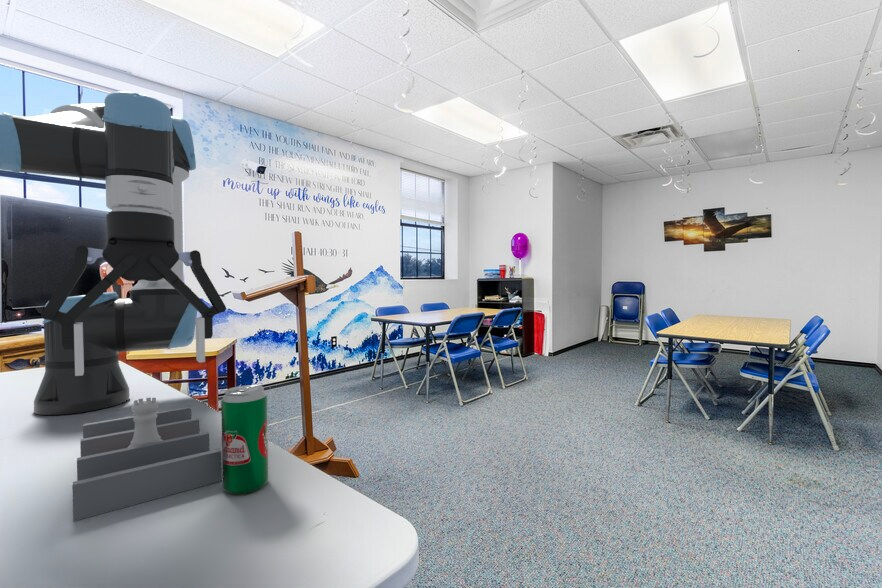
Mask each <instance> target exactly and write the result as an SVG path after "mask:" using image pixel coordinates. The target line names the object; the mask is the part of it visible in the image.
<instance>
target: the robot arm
mask: <svg viewBox="0 0 882 588" xmlns="http://www.w3.org/2000/svg"><path fill="white" fill-rule="evenodd" d="M196 168H197V161H196V154H195V145H194V139H193V134H192V129H191V126H190V124H189V122H188V121H187V120H186V119H184V118H183V117H178V116H174V115H172V111H171V109H170V108H169V106H168V105H167V104H165V103H164V102H162V101H161V100H159V99H158V98H154V97H151V96H149V95H146V94H143V93H137V92H131V91H114V92H111V93H109V94H107V95H106V96H105V98H104V103H98V102H96V103H75V104H67V105H60V106H58V107H56V108H54V109H52V110H51V111H50V112H49V113H45V114H38V115H31V116H23V115H22V116H21V115H14V114H11V113H8V112H2V113H1V112H0V171H1V170H2V171H8V172H12V173H15V174H16V173H17V174H19V173H25V174H26V173H29V174H36V175H37V174H38V175H49V176H61V177H67V178H68V177H69V178H79V179H86V180H94V181H105V207H106V208H107V209H109V210H110V211H109V212H108V213H107V214H106V218H105V219H106V220H105V221H106V245H105V248H104V249H100V248H93V247H87V246H86V245H78V246H77V247H76V248H75V252H74V260H73V264H72V265H71V266H70V268H69V269H68V272H67V273H66V275H65V276H64V277H63V279H62V280H61V282H60V284H59V285H58V286H57V288H56V290H55V291H54V293H53V294H52V296H51V298H50V299H49V300H48V301H47V302H46V304H45V305H44V308H43V310H42V311H41V313H40V316H41V318H42V319H43V321H42V325H43V335H44V336H43V337H44V341H43V342H44V344H43V345H44V364H45V365H44V367H45V368H44V375H43V377H42V379H41V382H40V384H39V388H38V390H37V392H36V395H35V397H34V400H33V413H34V414H37V415H45V416H59V415H69V414H79V413H85V412H86V413H87V412H92V411H97V410H101V409H106V408H111V407H115V406H117V405H120V404H122V402H123V403H125V402H127V401H128V400H130V398H129V397H130V386H129V385H128V382H127V379H126V378H125V376H124V373H123V371H122V368H121V366H120V364H119V360H120V359H119V356H120V355H119V354H120V353H122V352H124V353H125V352H135V351H137V352H138V351H151V350H166V349H167V350H171V349H177V348H184V347H185V348H186V347H188V346H189V345H191V344H192V343H193V342H194V337H195V357H196V358H195V360H196V361H197V362H198V363H206V339H207V340H208V339H212V337H213V335H214V334H213V333H214V332H213V319H214V316H216V315H218V314H221V313H224V312H226V310H227V307H226V304H225V302H224V301H223V299H222V298H221V296H220V294H219V292H218V290H217V289H216V287H215V285H214V283H212V280H211V279H210V277H209V275H208V273H207V271H206V270H205V268H204V267H203V263H202V257H201V252H200V251H199V250H197V249H196V250H195V249H194V250H191V251H184V239H183V238H184V235H183V233H184V230H183V229H184V227H183V225H184V224H183V182H184V181H186V180H187V179H189V178H190V171H195V170H196ZM100 258H102V259H103V260H104V261H105V262H106V263H107V264H108V265H109V266H110V268H112V270H111V271H109V273H107V274H106V276H105V275H104V276H105V277H103V278H102V279H101V280H100V281H99V282H98V283H97V284H95V286H94V287H93V288H91V289H90V290H89V291H88V292H87V293H86V294H82V295H73V296H69V295H70V294H71V292H73V289H74V288H75V286H76V285H77V283H78V281H79V280H80V278H81V277H82V275H83V274H84V272H85V271H86V268H87V265H93V264H95V262H96V261H97V260H98V259H100ZM184 265H185V266H186V267H190V270H191V272H192V274H193V276H194V277H195V278H196V280H197V282H198V284H199V285H200V288H201V289H202V290H203V293H204V294H205V296H206V298H207V299H208V301H209V302H210V304H211V306H208V305H207V304H206V303H205V302H204V300H202V299H201V298H200V297H199V296H198V295H197V294H196V293H195V292H193V290H192V288H190V287H189V286H188V285H187V284H186V282H185V281H184V278H185V277H184ZM120 278H122V280H124V281H125V280H126V281H128V282H137V283H136V284H135V285H133V286H132V287H131V288H130V289H129V297H126V298H125V297H121V298H119V294H118V293H117V291H110V292H106V291H107V290H108V289H110V287H112V285H114V284H115V283H116V282H117V281H118V280H119V279H120ZM198 313H199V314H200V315H201V316H197V315H198ZM126 400H127V401H126Z"/></svg>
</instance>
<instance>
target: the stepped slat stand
mask: <svg viewBox="0 0 882 588" xmlns="http://www.w3.org/2000/svg"><path fill="white" fill-rule="evenodd" d="M155 413H156V414H157V418H156V426H157V431H158V434H159V436H160V437H161V438H160V439H162V440H163V441H159V442H154V443H149V444H144V445H139V446H134V447H129V448H128V446H129V445H130V444H131V441H132V439H133V436H134V429H135V422H134V421H133V418H134V417H135V415H131V416H130V415H129V416H125V417H119V418H118V417H117V418H113V419H107V420H106V419H105V420H101V421H94V422H87V423H83V425H82V429H83V430H82V435H83V438H80V441H79V443H80V449H79V450H80V457H77V458H76V481H72V485H71V486H72V488H71V489H72V491H71V492H72V522H75V521H80V520H83V519H87V518H90V517H95V516H98V515H101V514H105V513H110V512H113V511H117V510H120V509H124V508H127V507H132V506H135V505H138V504H142V503H146V502H149V501H153V500H156V499H159V498H160V499H161V498H163V497H167V496H172V495H175V494H179V493H182V492H186V491H190V490H193V489H196V488H200V487H204V486H208V485H212V484H215V483H219V482H223V479H222V449H220V448H216V449H213V450H210V432H209V431H205V432H200V429H201V428H200V418H199V417H196V418H192V407H191V406H187V407H181V408H175V409H174V408H173V409H168V410H161V411H156V412H155Z"/></svg>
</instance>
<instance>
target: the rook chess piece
mask: <svg viewBox="0 0 882 588" xmlns="http://www.w3.org/2000/svg"><path fill="white" fill-rule="evenodd" d="M145 398H146V400H144V398H139V399H138V400H137V399H135V400H134V401H133V405H132V406H131V407H130V410H131V412H133V414H134V416H135V417H134V418H133V421H134V422H135V429H134V436H133V439H132V441H131V444H130V445H129V446H128V448H129V447H134V446H139V445H144V444H149V443H154V442H159V441H163V440H162V439H160V438H161V437H160V436H159V434H158V431H157V426H156V418H157V414H156V413H155V412H157V409H158V408H159V407H160V404H159V402H157V398H156V397H152V398H151V397H145Z"/></svg>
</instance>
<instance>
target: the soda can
mask: <svg viewBox="0 0 882 588" xmlns="http://www.w3.org/2000/svg"><path fill="white" fill-rule="evenodd" d="M264 390H265V387H264V386H262V385H256V384H251V385H250V384H247V385H237V386H233V387H230V388H227V389H226V390H224V396H223V398H222V399H221V400H220V401H221V402H220V405H221V406H220V408H221V411H220V412H221V413H220V414H221V468H222V488H223V490H224V491H225V492H227V493H228V494H230V495H233V496H237V495H238V496H239V495H241V496H242V495H248V494H250V493H251V494H252V493H254V492H256V491H259V490H260V489H261V488H262V487H264V486H265V484H266V483H267V482H268V481H269V437H268V436H269V435H268V395H267V393H266V392H265V391H264Z"/></svg>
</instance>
